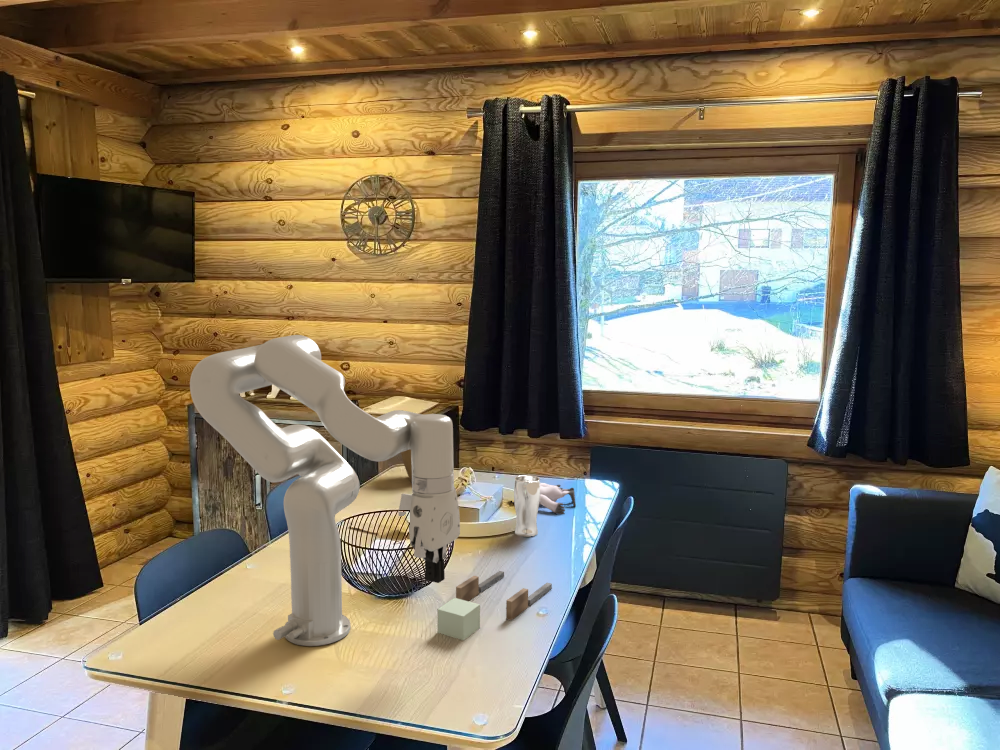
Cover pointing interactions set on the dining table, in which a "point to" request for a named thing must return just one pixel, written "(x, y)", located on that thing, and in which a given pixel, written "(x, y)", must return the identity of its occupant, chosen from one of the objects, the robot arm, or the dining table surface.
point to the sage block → (458, 618)
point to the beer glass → (526, 504)
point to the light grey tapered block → (405, 503)
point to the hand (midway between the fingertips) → (434, 579)
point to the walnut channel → (513, 604)
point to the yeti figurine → (554, 497)
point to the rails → (500, 575)
